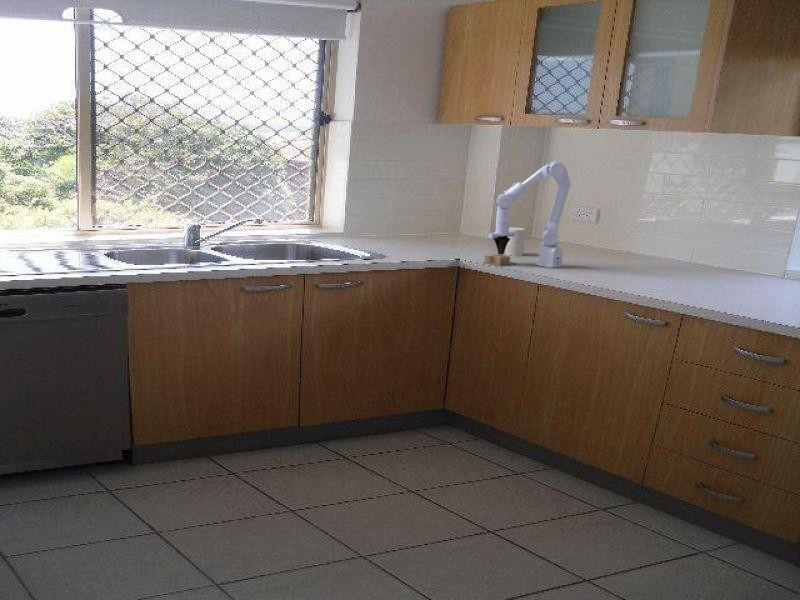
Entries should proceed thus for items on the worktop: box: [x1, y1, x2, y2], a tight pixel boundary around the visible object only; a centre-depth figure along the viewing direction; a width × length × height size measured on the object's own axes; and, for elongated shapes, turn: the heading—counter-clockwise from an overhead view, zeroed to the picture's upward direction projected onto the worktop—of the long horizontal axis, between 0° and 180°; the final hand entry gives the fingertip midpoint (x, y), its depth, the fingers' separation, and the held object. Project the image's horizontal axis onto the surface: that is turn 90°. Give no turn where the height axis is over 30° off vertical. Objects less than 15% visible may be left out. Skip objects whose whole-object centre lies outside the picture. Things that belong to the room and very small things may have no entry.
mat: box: [481, 261, 518, 267], centre depth 363 cm, size 10×11×1 cm
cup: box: [505, 227, 526, 257], centre depth 388 cm, size 8×8×12 cm
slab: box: [484, 253, 511, 265], centre depth 362 cm, size 9×3×6 cm
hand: (500, 254), depth 362 cm, fingers closed
